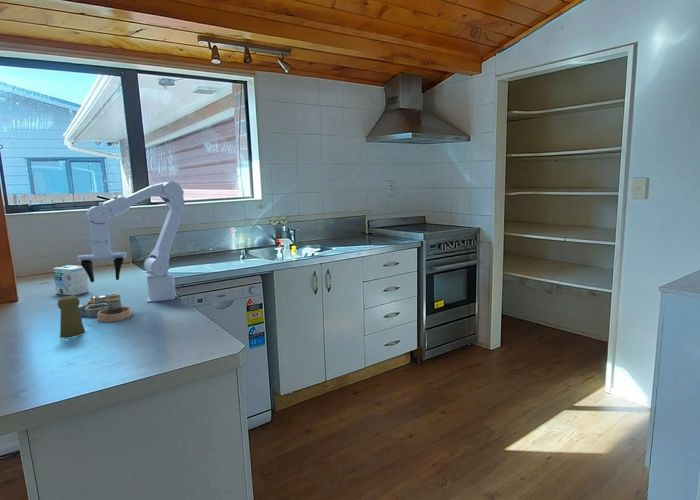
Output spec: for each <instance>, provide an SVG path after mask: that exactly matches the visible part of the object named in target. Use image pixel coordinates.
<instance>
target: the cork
mask: <svg viewBox="0 0 700 500" xmlns="http://www.w3.org/2000/svg"><path fill="white" fill-rule="evenodd" d="M79 305H80V298H78V297H77V295H74V296H71V295H66V296H64V297H61V298H59V299H58V301H57V307H58V309H59V310H60V323H59V324H60V326H59V327H60V328H59V330H60V331H59V333H60V334H59V335H60V336H59V337H60V338H64V339H65V338H73V337H78V336H82V335H84V334H85V333H86V330H85V327H84V325H83V320H82V317H80V313H79V310H78V306H79Z"/></svg>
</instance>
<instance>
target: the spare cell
mask: <svg viewBox="0 0 700 500" xmlns="http://www.w3.org/2000/svg"><path fill="white" fill-rule="evenodd" d="M110 295H111V294H106V295H105V294H104V295H94V296H91V297H90V300H89V301H90V304H100V303H106V297H107V296H110Z"/></svg>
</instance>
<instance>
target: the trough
mask: <svg viewBox="0 0 700 500" xmlns="http://www.w3.org/2000/svg"><path fill="white" fill-rule="evenodd" d="M100 304H102V303H100ZM106 304H107V303H106ZM83 305H84V306H85V307H87V306H90V305H94V304H90V300H88V301H87V302H86V303H85V304H83Z"/></svg>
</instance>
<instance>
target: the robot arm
mask: <svg viewBox="0 0 700 500" xmlns="http://www.w3.org/2000/svg"><path fill="white" fill-rule="evenodd" d="M184 194H185V193H184V190H183V188H182V186H181V185H180V184H179V183H178V182H176V181H173V180H172V181H171V180H170V181H161V182H160V183H155V184H151V185H149V186H147V187H145V188H143V189H142V188H141V189H140V190H138V191H136V192H134V193H132V194H130V195H128V196H124V195H113V196H111V197H112V198H111V199H109V200H107V201H104V202H102V201H100V202H99V203H98V205H94V206H91V207H89V208H88V209H87V211H86V214H85V218H86V219H87V220H88V226H89V229H88V230H89V236H90V237H89V239H90V245H91V247H90V248H91V253H92V254H91V253H90V254H83V255H77V256H76V259H77V260H76V261H77V262H78V263H80V262H81V263H80V266H82V267H83V268H84V269H85V271H86V273H87V277H88V279H89V281H90V283H94V282H95V276H94V275H95V274H94V271H93V270H94V269H93V262H94V261H103V260H104V261H106V260H113V264H114V265H113V266H114V270H115V271H114V272H115V280H116V281H119V280H120V275H121V274H120V272H121V268H122V265H123V262H124V260H125V259H127V257H128V256H127V252H126V251H124V252H122V251H121V252H113V251H112V245H111V236H110V235H111V234H110V228H109V224H108V223H109V222H108V221H109V220H110V219H112V218H115V217H117V216H120V215H121V214H123V213H126V212H128V211H130V208H131V206H133V205H136V204H138V203H139V202H140V203H141V202H142V201H146V200H147V199H151V197H156V198H158V197H159V198H160V199H161V200H162V201H164V202H165V204H166V206H167V207H168V212H167V214H166V216H165V218H164V219H165V220H164V223H163V225H162V228H161V231H160V233H159V236H158V238H157V240H156V244H155V246H154V249H152V250H151V252H150V253H149V256H148V257H147V258H146V259H145V260H144V262H143V268H144V270H145V271H146V272H147V274H146V285H147V295H148V297H147V299H146V302H147V303H153V302H160V301H170V300H175V299H176V294H177V291H176V286H175V276H174V274H168V272H169V269H170V264H169V261H170V259H171V257H170V251H171V248H172V245H173V243H174V240H175V238H176V235H177V231H178V229H179V227H180V224H181V221H182V218H183V215H184V214H185V211H186V203H185V197H184Z"/></svg>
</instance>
